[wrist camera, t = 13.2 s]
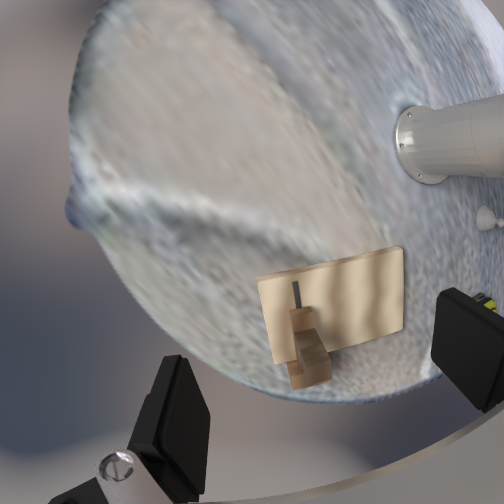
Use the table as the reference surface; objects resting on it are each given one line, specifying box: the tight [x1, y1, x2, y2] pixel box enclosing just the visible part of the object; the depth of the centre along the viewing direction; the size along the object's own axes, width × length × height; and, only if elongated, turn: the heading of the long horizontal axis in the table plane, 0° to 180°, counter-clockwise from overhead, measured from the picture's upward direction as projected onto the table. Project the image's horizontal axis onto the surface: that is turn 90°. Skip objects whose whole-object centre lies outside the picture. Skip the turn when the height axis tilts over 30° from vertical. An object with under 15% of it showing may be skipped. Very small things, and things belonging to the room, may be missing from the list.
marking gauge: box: [287, 306, 332, 390], centre depth 37 cm, size 6×12×12 cm, turn 11°
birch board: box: [256, 246, 404, 365], centre depth 41 cm, size 22×14×2 cm, turn 101°
